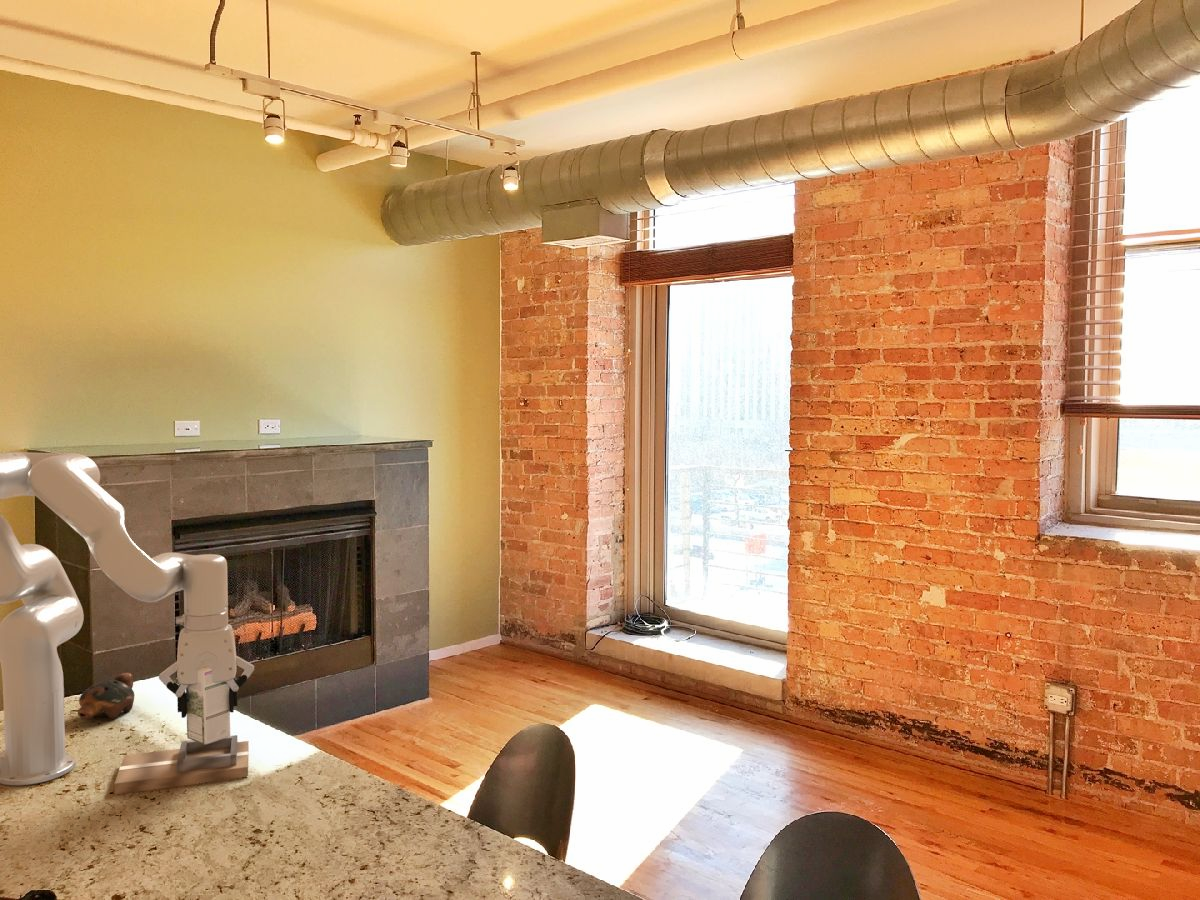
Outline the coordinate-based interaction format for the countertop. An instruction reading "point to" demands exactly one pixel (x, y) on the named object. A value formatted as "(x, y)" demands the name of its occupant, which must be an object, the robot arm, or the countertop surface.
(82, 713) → the decorative turtle
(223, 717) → the syrup box
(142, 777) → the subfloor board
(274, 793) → the countertop surface
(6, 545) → the robot arm
